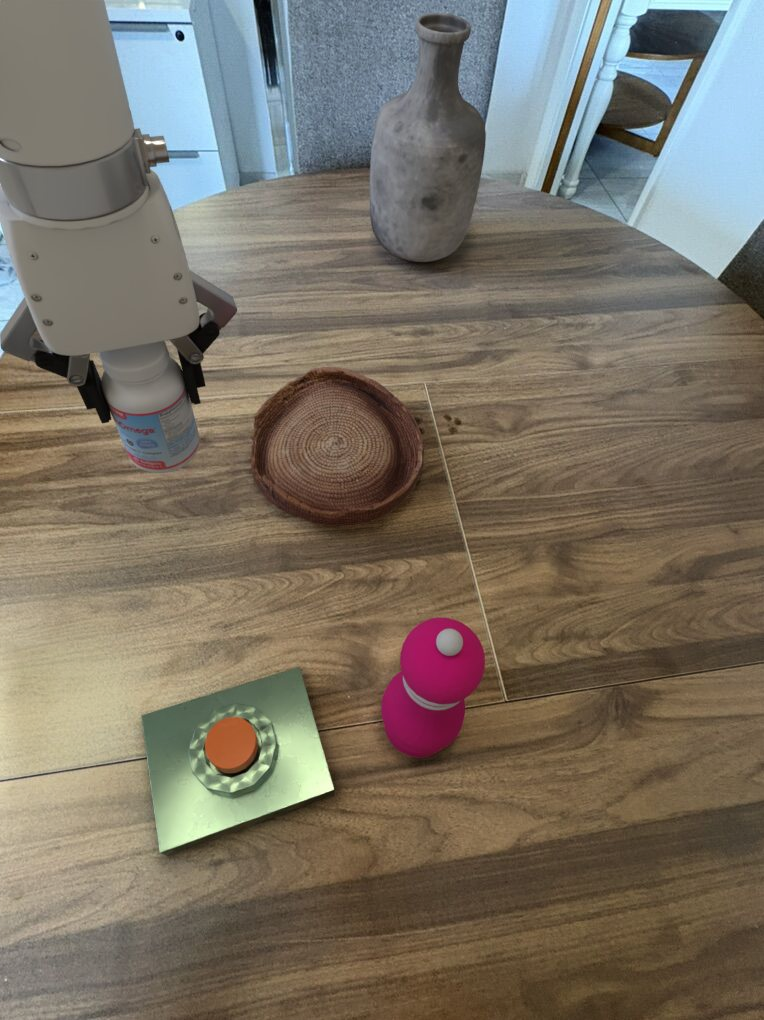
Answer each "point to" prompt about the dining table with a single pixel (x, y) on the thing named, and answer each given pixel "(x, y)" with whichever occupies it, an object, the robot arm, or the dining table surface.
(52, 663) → the dining table surface
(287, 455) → the basket
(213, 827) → the green button base
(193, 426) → the pill bottle
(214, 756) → the button
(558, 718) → the dining table surface
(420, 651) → the pepper mill
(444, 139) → the vase
